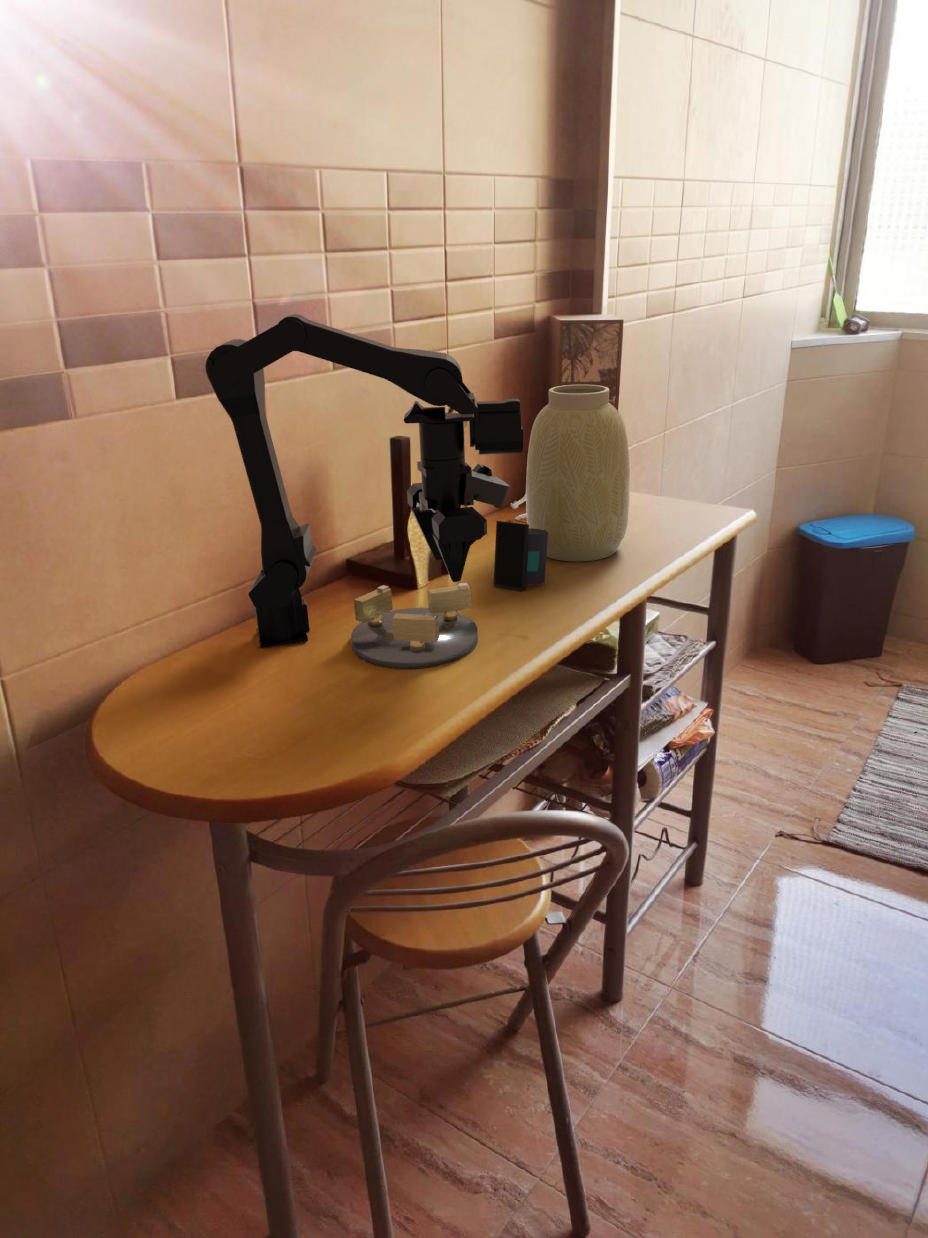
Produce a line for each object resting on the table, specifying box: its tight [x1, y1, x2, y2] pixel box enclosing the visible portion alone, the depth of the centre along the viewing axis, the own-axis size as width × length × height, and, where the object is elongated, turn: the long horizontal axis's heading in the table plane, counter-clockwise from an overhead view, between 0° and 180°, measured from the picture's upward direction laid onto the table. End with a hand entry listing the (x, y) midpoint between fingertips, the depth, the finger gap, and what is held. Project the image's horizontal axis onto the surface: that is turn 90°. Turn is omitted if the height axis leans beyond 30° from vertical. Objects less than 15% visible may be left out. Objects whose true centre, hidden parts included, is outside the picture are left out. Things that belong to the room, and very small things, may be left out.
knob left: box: [353, 584, 394, 628], centre depth 126 cm, size 6×2×5 cm, turn 141°
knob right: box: [427, 582, 472, 622], centre depth 127 cm, size 6×2×5 cm, turn 106°
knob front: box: [392, 613, 439, 652], centre depth 118 cm, size 6×2×5 cm, turn 77°
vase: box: [525, 384, 631, 562], centre depth 154 cm, size 17×17×27 cm
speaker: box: [493, 520, 548, 593], centre depth 142 cm, size 8×6×10 cm
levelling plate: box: [350, 607, 479, 670], centre depth 125 cm, size 17×17×2 cm
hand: (447, 570), depth 125 cm, fingers open, 9 cm apart
